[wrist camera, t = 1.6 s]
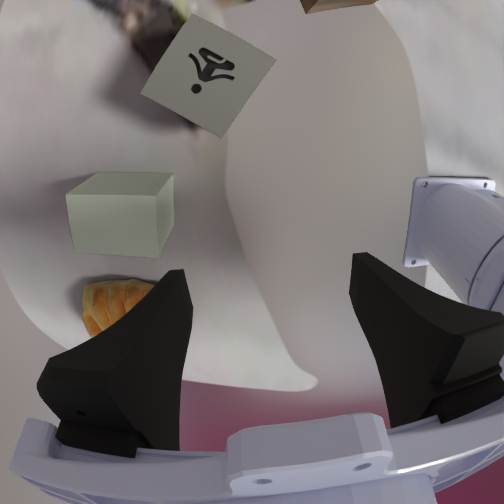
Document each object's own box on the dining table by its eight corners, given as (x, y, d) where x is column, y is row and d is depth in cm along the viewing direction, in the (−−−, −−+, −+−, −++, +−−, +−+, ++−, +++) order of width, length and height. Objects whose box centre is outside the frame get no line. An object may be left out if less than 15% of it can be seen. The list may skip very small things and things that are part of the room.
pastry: (176, 264, 25) (167, 293, 21) (197, 325, 28) (193, 355, 25) (83, 279, 25) (66, 305, 22) (111, 333, 28) (100, 360, 25)
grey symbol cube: (268, 67, 17) (276, 59, 13) (226, 128, 19) (221, 139, 15) (203, 31, 16) (192, 13, 12) (163, 92, 18) (140, 93, 13)
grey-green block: (174, 172, 21) (155, 196, 16) (174, 224, 23) (158, 258, 18) (97, 172, 20) (65, 194, 16) (102, 221, 22) (74, 252, 18)
